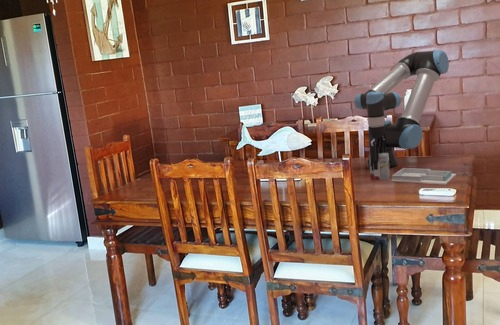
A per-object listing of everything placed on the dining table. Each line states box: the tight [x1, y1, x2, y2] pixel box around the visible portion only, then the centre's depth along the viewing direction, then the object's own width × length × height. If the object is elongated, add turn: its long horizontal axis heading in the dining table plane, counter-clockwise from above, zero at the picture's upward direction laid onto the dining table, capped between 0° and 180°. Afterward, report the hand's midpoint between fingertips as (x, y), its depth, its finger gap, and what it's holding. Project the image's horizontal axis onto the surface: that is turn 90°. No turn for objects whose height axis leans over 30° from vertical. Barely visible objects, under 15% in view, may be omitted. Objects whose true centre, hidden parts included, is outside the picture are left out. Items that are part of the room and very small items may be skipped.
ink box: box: [368, 153, 391, 181], centre depth 237 cm, size 9×5×12 cm, turn 68°
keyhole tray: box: [390, 167, 457, 186], centre depth 229 cm, size 16×24×3 cm, turn 53°
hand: (379, 174), depth 238 cm, fingers closed on ink box, 6 cm apart
